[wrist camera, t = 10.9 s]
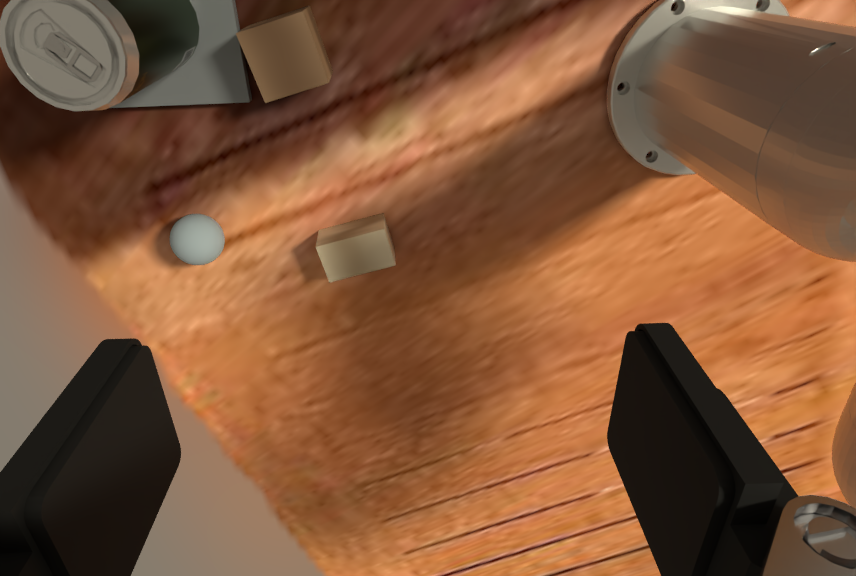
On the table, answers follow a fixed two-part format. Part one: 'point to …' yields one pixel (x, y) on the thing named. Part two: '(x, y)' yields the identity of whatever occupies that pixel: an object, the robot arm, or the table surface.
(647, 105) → the robot arm
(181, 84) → the coaster
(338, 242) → the beech block
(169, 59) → the beer can
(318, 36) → the tan cube
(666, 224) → the table surface
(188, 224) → the grey ball
